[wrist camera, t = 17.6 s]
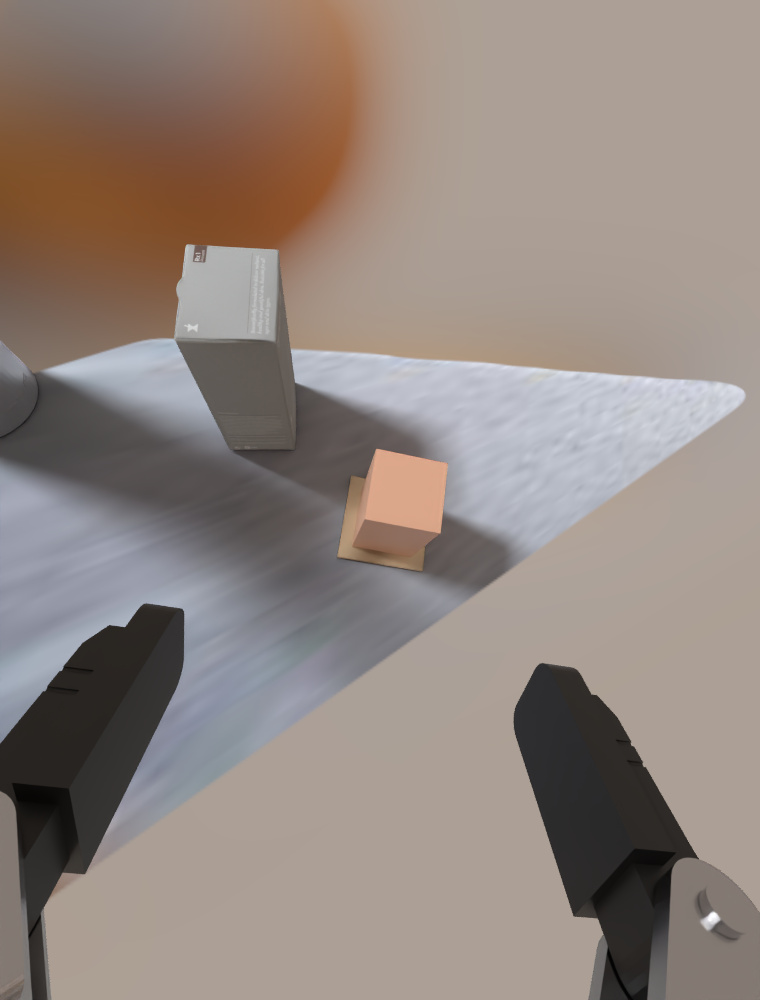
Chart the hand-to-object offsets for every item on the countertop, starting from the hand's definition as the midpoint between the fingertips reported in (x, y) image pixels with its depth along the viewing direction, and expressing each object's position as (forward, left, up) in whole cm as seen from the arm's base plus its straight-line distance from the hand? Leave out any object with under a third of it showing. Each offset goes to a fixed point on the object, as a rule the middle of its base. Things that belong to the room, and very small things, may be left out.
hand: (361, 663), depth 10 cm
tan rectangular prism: (+4, +12, -28) cm, 31 cm away
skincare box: (-10, +21, -29) cm, 37 cm away
